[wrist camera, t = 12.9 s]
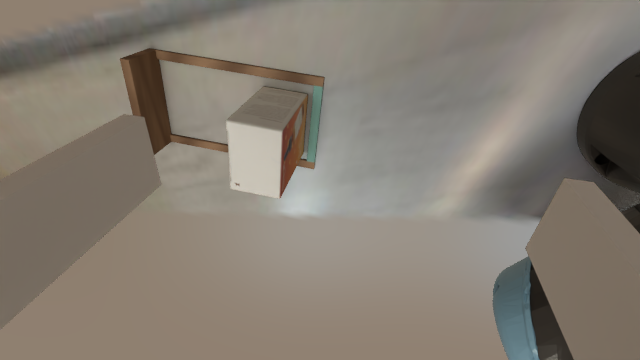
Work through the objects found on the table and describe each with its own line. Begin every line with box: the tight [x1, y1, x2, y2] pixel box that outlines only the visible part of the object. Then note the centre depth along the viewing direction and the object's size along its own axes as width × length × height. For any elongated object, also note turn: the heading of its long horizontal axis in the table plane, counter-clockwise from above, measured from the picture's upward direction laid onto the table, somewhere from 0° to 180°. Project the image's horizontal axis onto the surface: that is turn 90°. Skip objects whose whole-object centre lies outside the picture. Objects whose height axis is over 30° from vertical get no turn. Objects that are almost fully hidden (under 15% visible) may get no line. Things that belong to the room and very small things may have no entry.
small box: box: [226, 87, 308, 199], centre depth 36 cm, size 8×6×10 cm
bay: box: [120, 48, 324, 169], centre depth 39 cm, size 21×12×5 cm, turn 83°
